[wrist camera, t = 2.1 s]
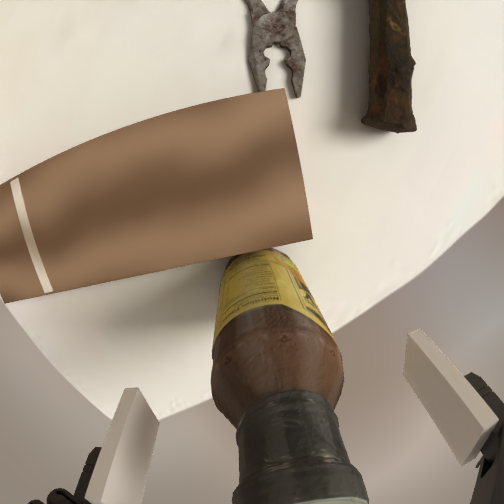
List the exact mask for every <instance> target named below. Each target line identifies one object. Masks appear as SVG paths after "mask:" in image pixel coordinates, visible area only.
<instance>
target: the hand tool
mask: <svg viewBox="0 0 504 504" xmlns="http://www.w3.org/2000/svg"><path fill="white" fill-rule="evenodd" d="M369 1H370V27H369V33H370V63H369V75H370V79H369V83H370V90H369V107H368V111H367V114H366V116H365V117H363V118H362V119H361V122H362V123H363V124H365V125H368V126H372V127H375V128H378V129H382V130H386V131H391V132H396V133H400V132H402V133H403V132H414V131H416V130H417V127H416V123H415V117H414V115H413V111H412V107H411V105H412V88H411V79H412V74H413V70H414V65H415V64H416V63H415V61H414V59H413V58H412V56H411V48H410V38H409V26H408V17H407V11H406V3H405V0H369Z"/></svg>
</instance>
